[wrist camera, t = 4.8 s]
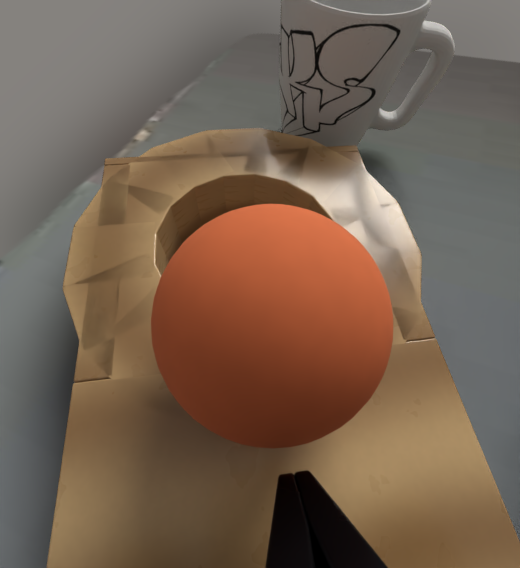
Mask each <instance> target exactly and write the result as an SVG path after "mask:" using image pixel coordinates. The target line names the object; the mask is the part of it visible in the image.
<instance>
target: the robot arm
mask: <svg viewBox="0 0 520 568" xmlns="http://www.w3.org/2000/svg"><path fill="white" fill-rule="evenodd" d="M265 568H388V567H387V566H386V564H385V563H384V562H383V561H382V559H381V558H380V557H379V556H378V554H377V553H376V552H375V551H374V549H373V548H372V547H371V546H370V545H369V543H368V542H367V541H366V540H365V538H364V537H363V536H362V535H361V533H360V532H359V531H358V530H357V528H356V527H355V526H354V525H353V524H352V522H351V521H350V520H349V519H348V517H347V516H346V515H345V514H344V512H343V511H342V510H341V509H340V507H339V506H338V505H337V504H336V503H335V501H334V500H333V499H332V498H331V496H330V495H329V494H328V493H327V491H326V490H325V489H324V488H323V487H322V485H321V484H320V483H319V482H318V480H317V479H316V478H315V477H314V475H313V474H312V473H311V472H310V471H308V470H304V471H298V472H295V473H294V474H293V473H286V474H280V475H279V476H278V482H277V489H276V496H275V503H274V510H273V517H272V524H271V531H270V538H269V545H268V552H267V559H266V566H265Z"/></svg>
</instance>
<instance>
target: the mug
mask: <svg viewBox="0 0 520 568" xmlns="http://www.w3.org/2000/svg"><path fill="white" fill-rule="evenodd" d="M431 3H432V0H281V20H280V50H279V82H280V101H281V117H282V131H283V133H286V134H290V135H295V136H300V137H304V138H309V139H312V140H314V141H316V142H318V143H320V144H322V145H324V146H326V147H331V146H350V145H356V146H357V145H358V144H359V142H360V140H361V139H362V137H363V135H364V134H365V132H366V130H367V129H369V128H373V129H378V130H385V131H386V130H395V129H398V128H400V127H402V126H404V125H405V124H406V123H408V122H409V121H410V120H411V118H412V117H413V116H414V115H415V113H416V112H417V110H418V109H419V107H420V106H421V105H422V103H423V102H424V100H425V99H426V98H427V97H428V95H429V94H430V93H431V91H432V90H433V89H434V88H435V86H436V85H437V84H438V82H439V81H440V80H441V78H442V77H443V76H444V74H445V72H446V71H447V69H448V67H449V65H450V63H451V61H452V59H453V56H454V52H455V44H454V41H453V38H452V36H451V34H450V32H449V31H448V29H447V28H445V26H443V25H441V24H438V23H435V22H429V21H424V20H425V18H426V16H427V13H428V11H429V8H430V6H431ZM418 49H430V50H432V54H431V56H430V59H429V61H428V63H427V65H426V66H425V68H424V70H423V71H422V73H421V75H420V76H419V78H418V79H417V81H416V82H415V84H414V85H413V87H412V88H411V90H410V91H409V93H408V95H407V96H406V98H405V100H404V101H403V103H402V104H401V105H400V107H399V108H398V109H397V110H395V111H393V112H386V111H383V110H382V109H381V108H380V107H381V106H382V104H383V102H384V100H385V99H386V97H387V95H388V93H389V91H390V89H391V87H392V85H393V84H394V82H395V80H396V78H397V76H398V74H399V71H400V69H401V67H402V65H403V63H404V61H405V59H406V58H407V56H408V55H409V54H410V53H412V52H413V51H415V50H418Z"/></svg>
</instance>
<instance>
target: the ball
mask: <svg viewBox="0 0 520 568" xmlns="http://www.w3.org/2000/svg"><path fill="white" fill-rule="evenodd" d="M151 334H152V345H153V350H154V354H155V358H156V361H157V365H158V368H159V370H160V373H161V375H162V377H163V379H164V381H165V383H166V385H167V387H168V389H169V391H170V392H171V393H172V395H173V396H174V398H175V399H176V400H177V402H178V403H179V404H180V405H181V407H182V408H183V409H184V410H185V411H186V412H187V413H188V414H189V415H190V416H191V417H192V418H193V419H194V420H196V421H197V422H198V423H200V424H201V425H203V426H204V427H205V428H207V429H208V430H210V431H212V432H213V433H215V434H217V435H219V436H221V437H223V438H225V439H228V440H230V441H233V442H236V443H239V444H243V445H248V446H253V447H259V448H286V447H293V446H298V445H303V444H307V443H309V442H312V441H315V440H318V439H320V438H322V437H324V436H326V435H328V434H330V433H331V432H333V431H335V430H337V429H339V428H340V427H342V426H343V425H344V424H346V423H347V422H348V421H350V420H351V419H352V418H353V417H354V416H355V415H356V414H357V413H358V412H359V411H360V410H361V409H362V407H363V406H364V405H365V404H366V403H367V402H368V401H369V400H370V398H371V397H372V395H373V393H374V392H375V390H376V389H377V387H378V385H379V383H380V381H381V379H382V377H383V375H384V372H385V370H386V367H387V364H388V361H389V357H390V353H391V348H392V342H393V313H392V305H391V300H390V296H389V292H388V289H387V286H386V283H385V281H384V278H383V276H382V274H381V272H380V270H379V268H378V266H377V265H376V263H375V261H374V260H373V258H372V257H371V255H370V254H369V252H368V251H367V250H366V249H365V248H364V246H363V245H362V244H361V243H360V242H359V241H358V240H357V239H356V238H355V237H354V236H353V235H352V234H350V233H349V232H348V231H347V230H346V229H345V228H343V227H342V226H341V225H339V224H338V223H336V222H334V221H332V220H331V219H329V218H327V217H325V216H323V215H321V214H319V213H316V212H314V211H311V210H308V209H304V208H300V207H296V206H291V205H284V204H259V205H252V206H247V207H243V208H239V209H236V210H232V211H230V212H227V213H224V214H222V215H220V216H218V217H216V218H215V219H213V220H211V221H209V222H208V223H206V224H204V225H203V226H201V227H200V228H199V229H198V230H196V231H195V232H194V233H193V234H192V235H191V236H189V237H188V238H187V239H186V240H185V241H184V242H183V244H182V245H181V246H180V247H179V248H178V250H177V251H176V252H175V254H174V255H173V256H172V257H171V259H170V261H169V263H168V265H167V266H166V268H165V270H164V272H163V274H162V276H161V278H160V281H159V284H158V287H157V290H156V293H155V296H154V301H153V308H152V316H151Z"/></svg>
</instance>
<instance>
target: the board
mask: <svg viewBox="0 0 520 568" xmlns="http://www.w3.org/2000/svg"><path fill="white" fill-rule="evenodd" d="M104 165H105V166H104V172H103V179H102V186H101V188H100V190H99V191H98V193H97V194H96V195H95V197H94V198H93V200H92V201H91V203H90V204H89V205H88V207H87V208H86V210H85V211H84V212H83V214H82V215H81V217H80V218H79V220H78V221H77V222H76V224H75V225H74V228H73V233H72V238H71V244H70V249H69V255H68V260H67V265H66V271H65V276H64V282H63V292H64V295H65V298H66V301H67V304H68V307H69V310H70V314H71V317H72V320H73V323H74V326H75V329H76V332H77V335H78V338H79V346H78V353H77V360H76V367H75V374H74V382H75V383H74V384H73V387H72V393H71V400H70V407H69V414H68V421H67V428H66V435H65V442H64V449H63V456H62V463H61V470H60V477H59V484H58V491H57V498H56V505H55V512H54V519H53V526H52V533H51V540H50V547H49V554H48V561H47V568H265V566H266V559H267V552H268V545H269V538H270V531H271V524H272V517H273V510H274V503H275V496H276V489H277V482H278V476H279V475H280V474H286V473H293V474H294V473H295V472H298V471H304V470H308V471H310V472H311V473H312V474H313V475H314V477H315V478H316V479H317V480H318V482H319V483H320V484H321V485H322V487H323V488H324V489H325V490H326V491H327V493H328V494H329V495H330V496H331V498H332V499H333V500H334V501H335V503H336V504H337V505H338V506H339V507H340V509H341V510H342V511H343V512H344V514H345V515H346V516H347V517H348V519H349V520H350V521H351V522H352V524H353V525H354V526H355V527H356V528H357V530H358V531H359V532H360V533H361V535H362V536H363V537H364V538H365V540H366V541H367V542H368V543H369V545H370V546H371V547H372V548H373V549H374V551H375V552H376V553H377V554H378V556H379V557H380V558H381V559H382V561H383V562H384V563H385V564H386V566H387V567H388V568H520V541H519V539H518V536H517V534H516V531H515V529H514V527H513V524H512V522H511V519H510V517H509V514H508V512H507V510H506V507H505V505H504V502H503V500H502V498H501V495H500V493H499V490H498V488H497V485H496V483H495V481H494V478H493V476H492V473H491V471H490V468H489V466H488V464H487V461H486V459H485V456H484V454H483V451H482V449H481V447H480V444H479V442H478V439H477V437H476V434H475V432H474V430H473V427H472V425H471V422H470V420H469V418H468V415H467V413H466V410H465V408H464V405H463V403H462V401H461V398H460V396H459V393H458V391H457V388H456V386H455V384H454V381H453V379H452V376H451V374H450V371H449V369H448V367H447V364H446V362H445V359H444V357H443V355H442V352H441V350H440V347H439V345H438V342H437V340H436V339H435V335H434V333H433V330H432V328H431V325H430V323H429V320H428V318H427V316H426V313H425V311H424V308H423V306H422V304H421V256H422V255H421V252H420V250H419V248H418V245H417V243H416V241H415V239H414V236H413V234H412V232H411V230H410V227H409V225H408V223H407V221H406V219H405V216H404V214H403V212H402V210H401V207H400V205H399V203H398V202H397V201H396V200H395V199H394V198H393V197H392V196H391V195H390V194H389V193H388V192H387V191H386V190H385V189H384V188H383V187H382V186H381V185H380V184H379V183H378V182H377V181H376V180H375V179H374V178H373V177H372V176H371V175H370V174H369V173H368V172H367V170H366V168H365V165H364V163H363V161H362V158H361V156H360V153H359V152H358V148H357V146H356V145H350V146H331V147H326V146H324V145H322V144H320V143H318V142H316V141H314V140H312V139H309V138H304V137H300V136H295V135H290V134H286V133H281V132H276V131H271V130H267V129H262V128H260V129H259V128H249V129H227V130H206V131H203V132H200V133H197V134H194V135H190V136H187V137H184V138H181V139H178V140H175V141H172V142H169V143H165V144H162V145H159V146H156V147H154V148H151V149H150V150H148V151H147V152H145V153H144V154H142V155H141V156H140V157H126V158H108V159H105V163H104ZM259 204H284V205H291V206H296V207H300V208H304V209H308V210H311V211H314V212H316V213H319V214H321V215H323V216H325V217H327V218H329V219H331V220H332V221H334V222H336V223H338V224H339V225H341V226H342V227H343V228H345V229H346V230H347V231H348V232H349V233H350V234H352V235H353V236H354V237H355V238H356V239H357V240H358V241H359V242H360V243H361V244H362V245H363V246H364V248H365V249H366V250H367V251H368V252H369V254H370V255H371V257H372V258H373V260H374V261H375V263H376V265H377V266H378V268H379V270H380V272H381V274H382V276H383V278H384V281H385V283H386V286H387V289H388V292H389V296H390V300H391V305H392V313H393V342H392V348H391V353H390V357H389V361H388V364H387V367H386V370H385V372H384V375H383V377H382V379H381V381H380V383H379V385H378V387H377V389H376V390H375V392H374V393H373V395H372V397H371V398H370V400H369V401H368V402H367V403H366V404H365V405H364V406H363V407H362V409H361V410H360V411H359V412H358V413H357V414H356V415H355V416H354V417H353V418H352V419H351V420H350V421H348V422H347V423H346V424H344V425H343V426H342V427H340V428H339V429H337V430H335V431H333V432H331V433H330V434H328V435H326V436H324V437H322V438H320V439H318V440H315V441H312V442H309V443H307V444H303V445H298V446H293V447H286V448H259V447H253V446H248V445H243V444H239V443H236V442H233V441H230V440H228V439H225V438H223V437H221V436H219V435H217V434H215V433H213V432H212V431H210V430H208V429H207V428H205V427H204V426H203V425H201V424H200V423H198V422H197V421H196V420H194V419H193V418H192V417H191V416H190V415H189V414H188V413H187V412H186V411H185V410H184V409H183V408H182V407H181V405H180V404H179V403H178V402H177V400H176V399H175V398H174V396H173V395H172V393H171V392H170V391H169V389H168V387H167V385H166V383H165V381H164V379H163V377H162V375H161V373H160V370H159V368H158V365H157V361H156V358H155V354H154V350H153V345H152V334H151V316H152V308H153V301H154V296H155V293H156V290H157V287H158V284H159V281H160V278H161V276H162V274H163V272H164V270H165V268H166V266H167V265H168V263H169V261H170V259H171V257H172V256H173V255H174V254H175V252H176V251H177V250H178V248H179V247H180V246H181V245H182V244H183V242H184V241H185V240H186V239H187V238H188V237H189V236H191V235H192V234H193V233H194V232H195V231H196V230H198V229H199V228H200V227H201V226H203V225H204V224H206V223H208V222H209V221H211V220H213V219H215V218H216V217H218V216H220V215H222V214H224V213H227V212H230V211H232V210H236V209H239V208H243V207H247V206H252V205H259Z"/></svg>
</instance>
